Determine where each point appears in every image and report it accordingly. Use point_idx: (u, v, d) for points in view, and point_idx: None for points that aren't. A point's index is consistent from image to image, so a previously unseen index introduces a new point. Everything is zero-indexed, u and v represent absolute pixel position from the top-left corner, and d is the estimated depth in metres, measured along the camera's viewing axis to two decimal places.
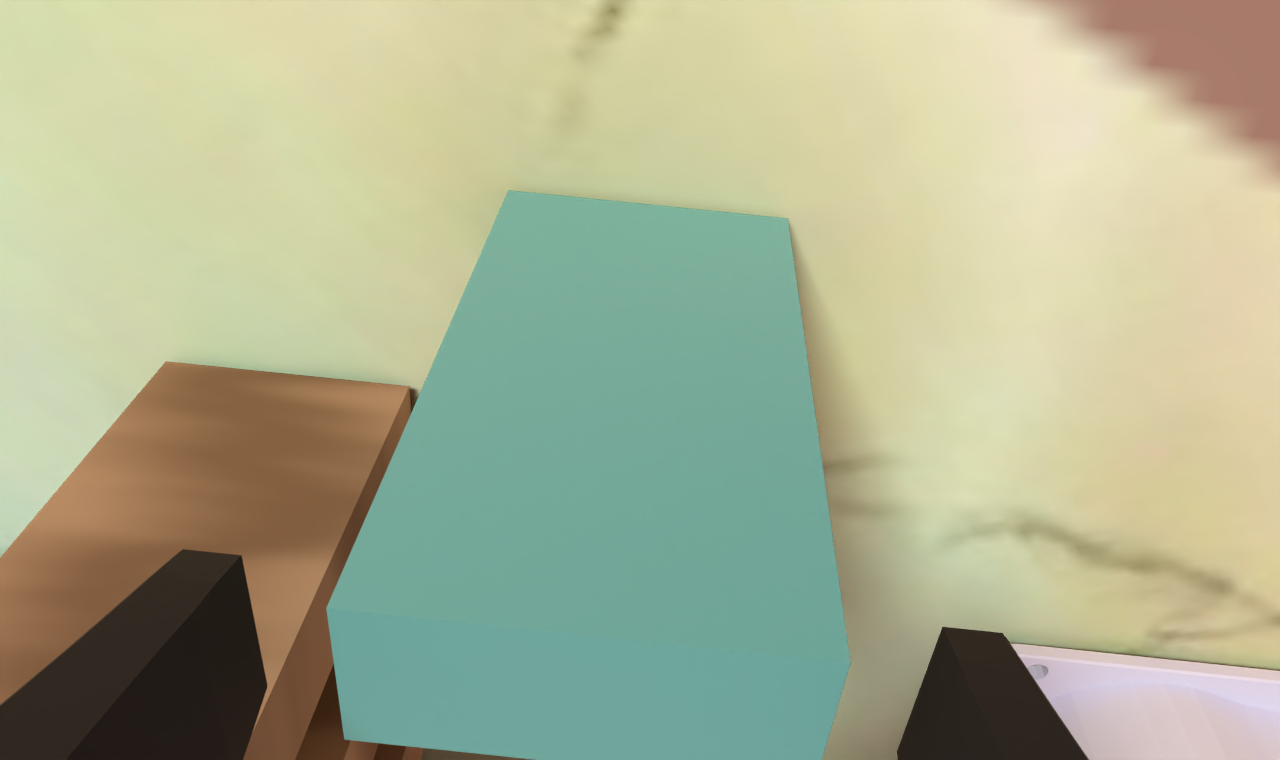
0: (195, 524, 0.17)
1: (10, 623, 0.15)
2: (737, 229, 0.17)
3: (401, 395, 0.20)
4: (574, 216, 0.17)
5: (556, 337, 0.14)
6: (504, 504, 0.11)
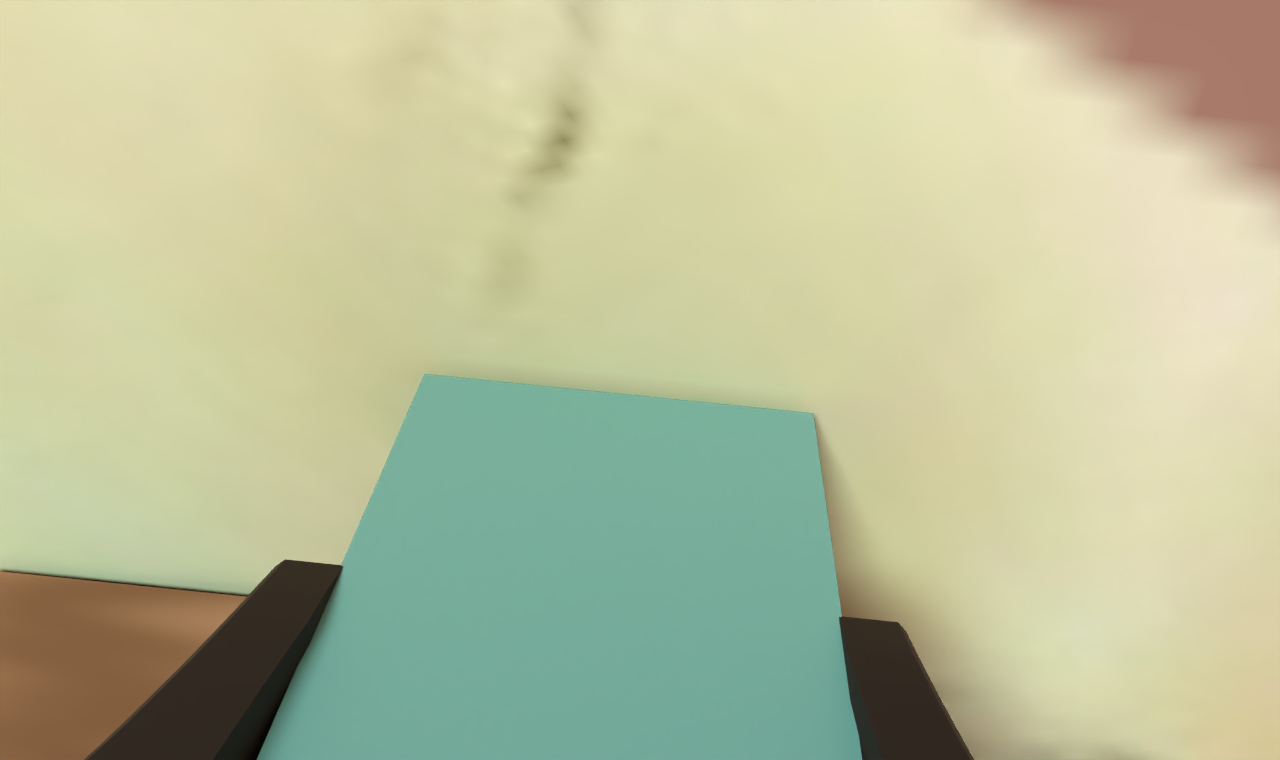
0: None
1: None
2: (743, 437, 0.12)
3: None
4: (513, 421, 0.12)
5: (463, 688, 0.09)
6: None
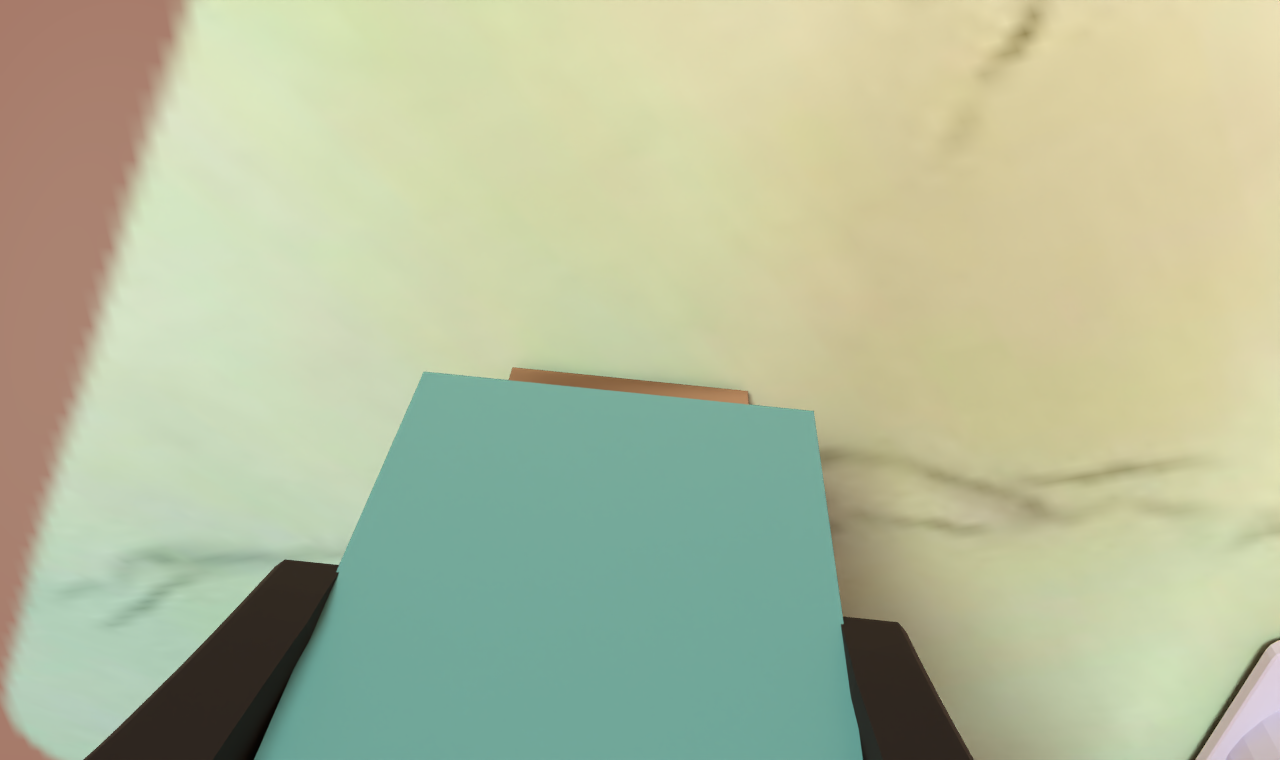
0: None
1: None
2: (743, 435, 0.12)
3: (745, 400, 0.21)
4: (513, 418, 0.12)
5: (461, 686, 0.09)
6: None
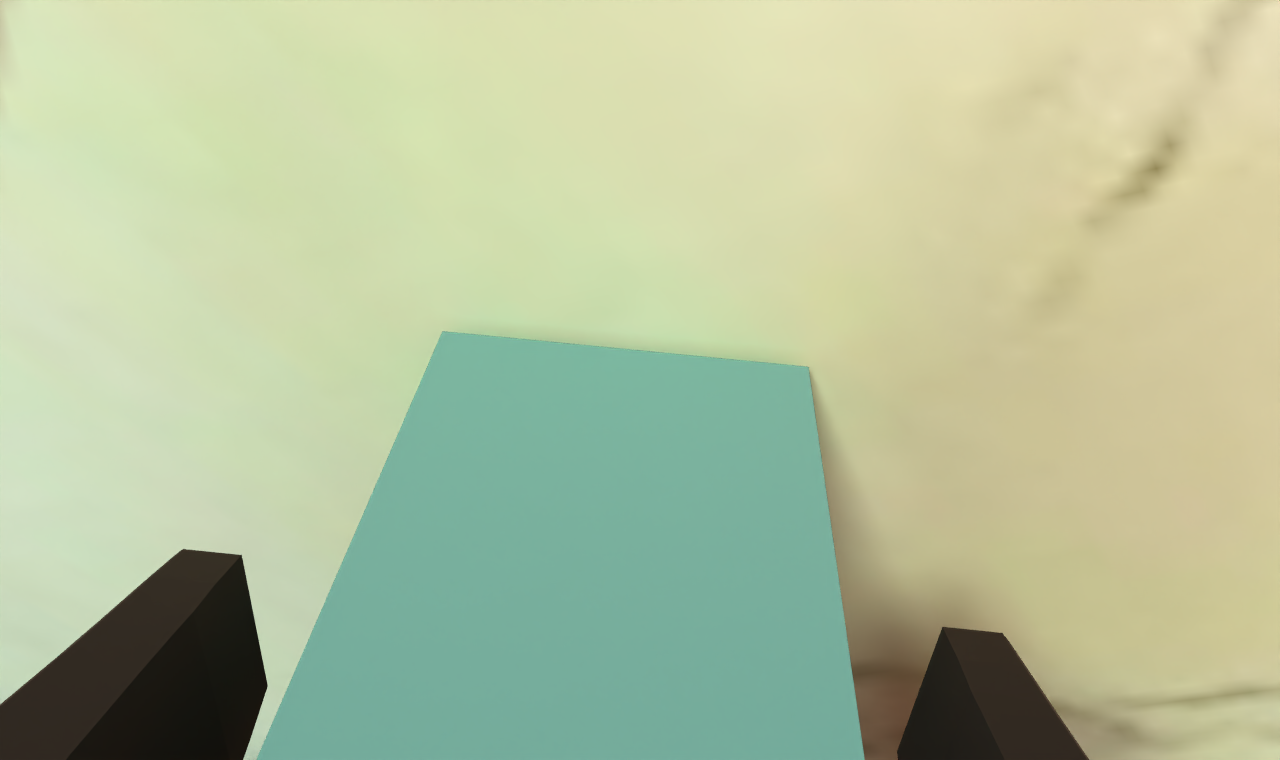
0: None
1: None
2: (742, 387, 0.13)
3: None
4: (526, 373, 0.13)
5: (485, 601, 0.10)
6: None
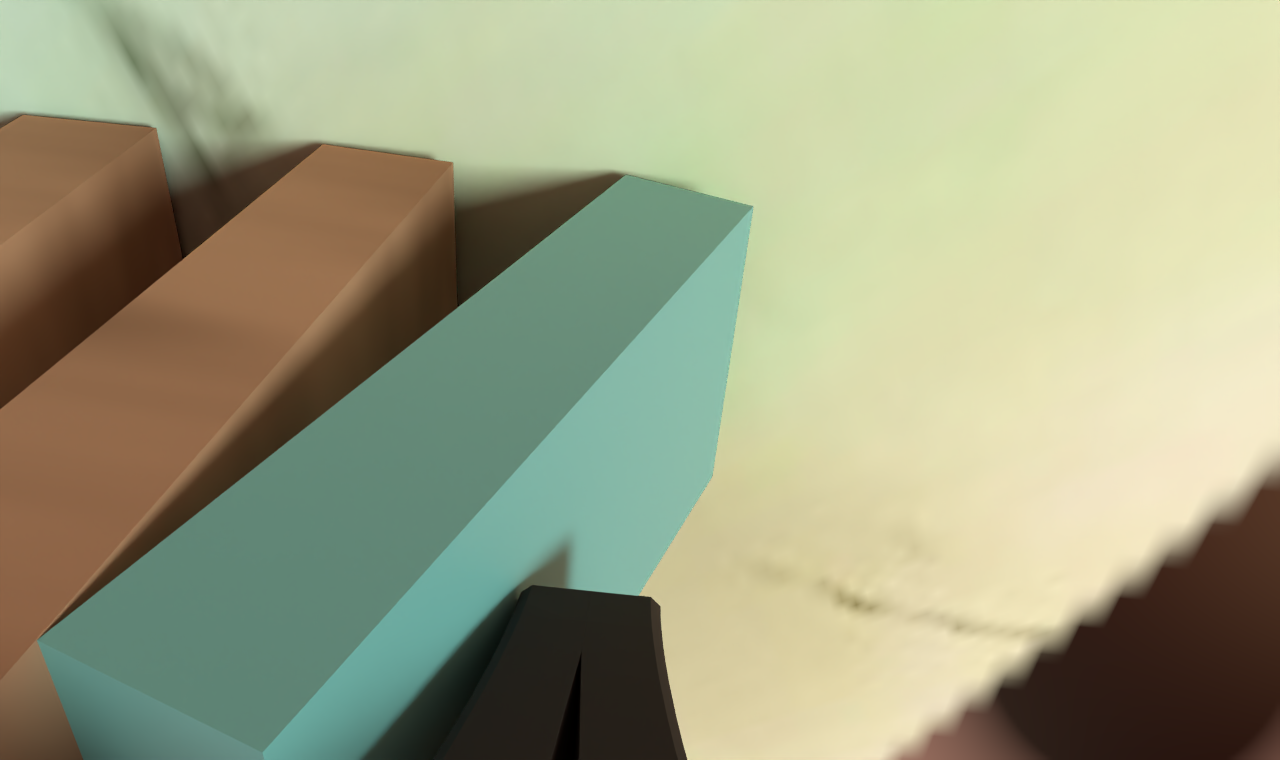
0: None
1: None
2: (704, 456, 0.16)
3: None
4: (722, 308, 0.14)
5: (602, 475, 0.11)
6: (423, 699, 0.09)
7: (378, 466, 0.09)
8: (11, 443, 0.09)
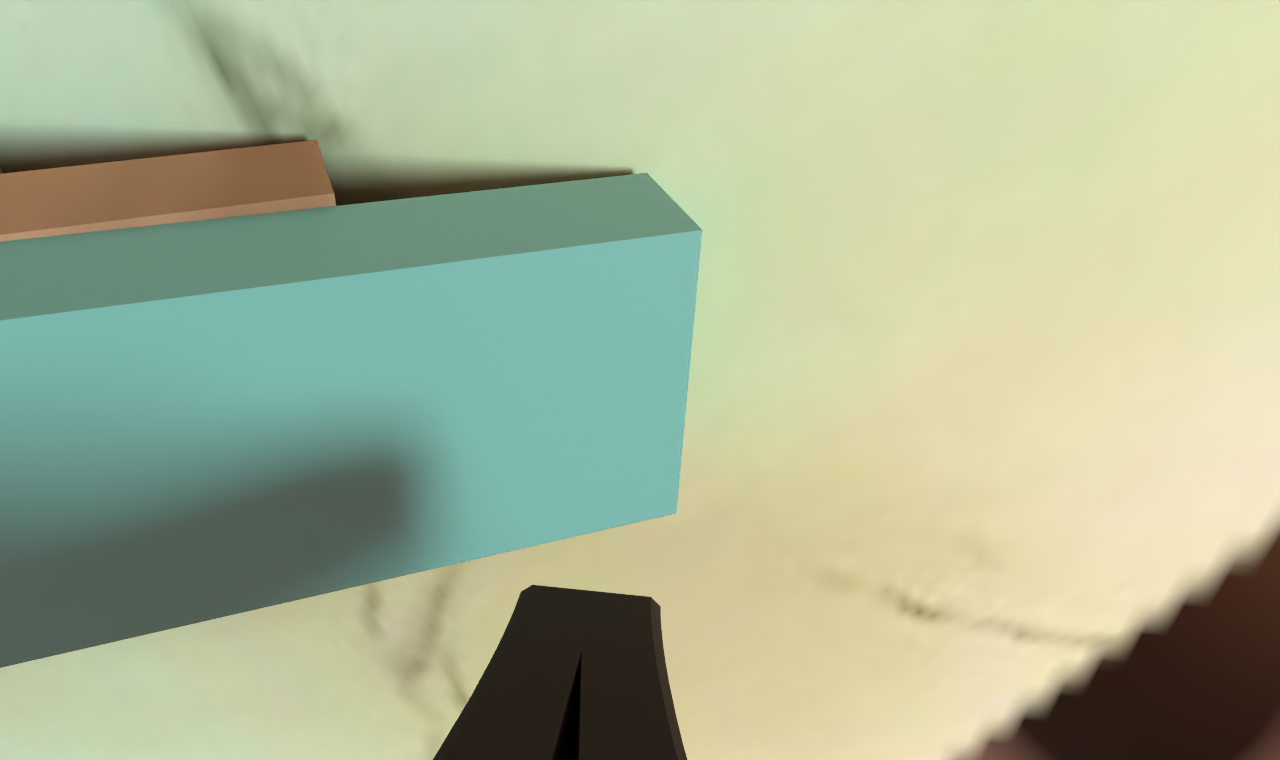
0: None
1: None
2: (640, 477, 0.15)
3: None
4: (640, 321, 0.14)
5: (346, 383, 0.13)
6: (26, 427, 0.11)
7: (99, 263, 0.12)
8: None
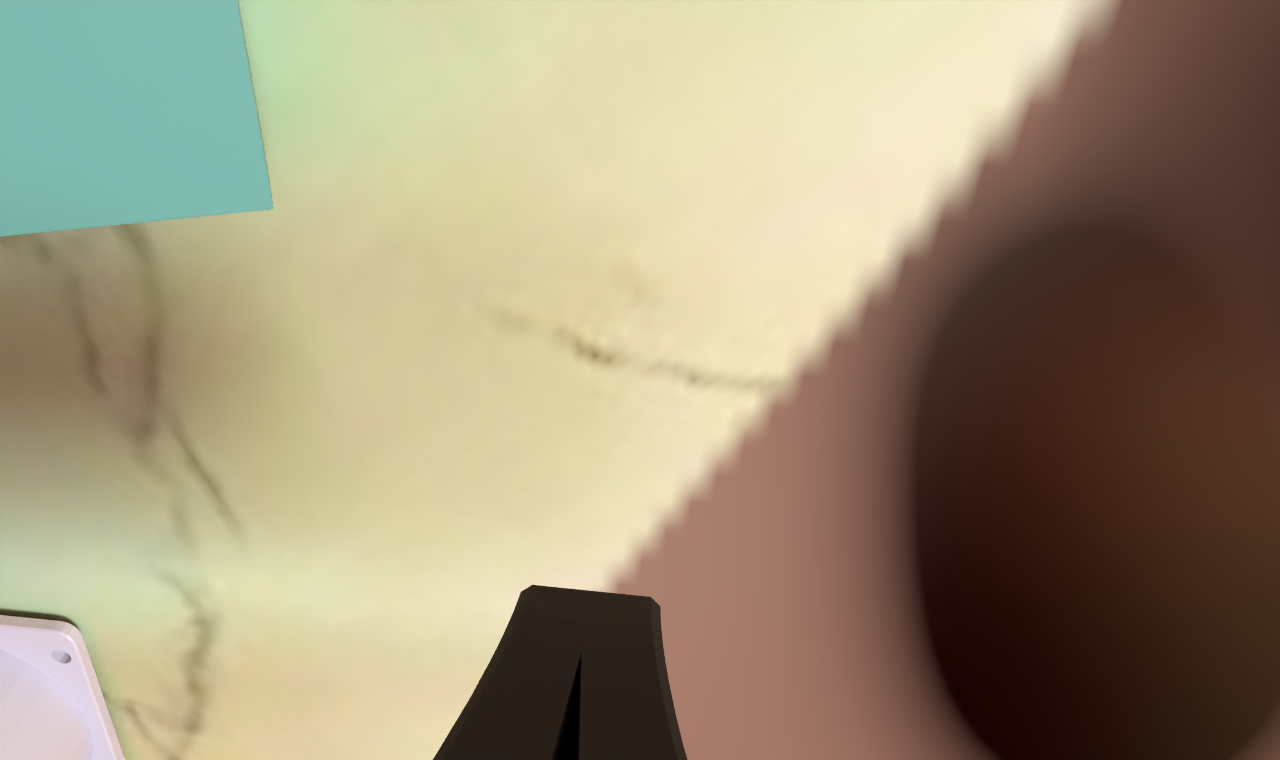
0: None
1: None
2: (222, 162, 0.17)
3: None
4: None
5: None
6: None
7: None
8: None
